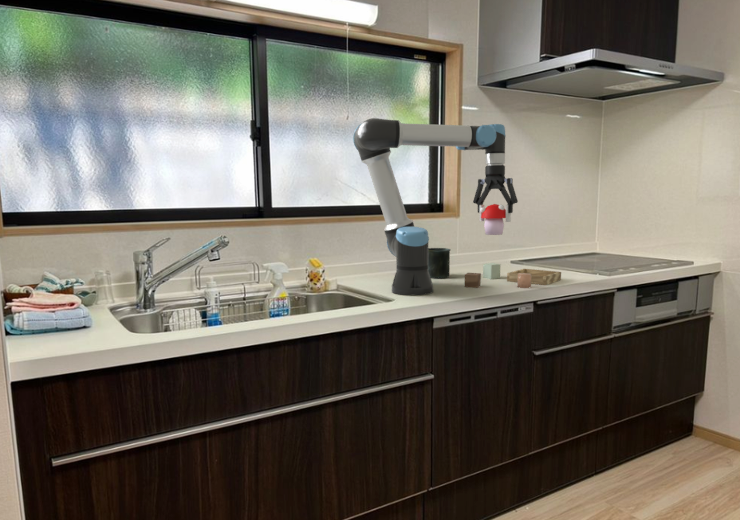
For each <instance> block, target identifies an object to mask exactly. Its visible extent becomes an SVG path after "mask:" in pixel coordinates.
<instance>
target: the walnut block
mask: <svg viewBox="0 0 740 520" xmlns="http://www.w3.org/2000/svg"><path fill="white" fill-rule="evenodd" d="M481 275H482V274H481V272H466V273H465V274H464V288H472V289H473V288H474V289H478V288H480V287H481V283H482V281H481V279H482V278H481V277H482V276H481Z"/></svg>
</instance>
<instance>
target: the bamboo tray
mask: <svg viewBox="0 0 740 520" xmlns="http://www.w3.org/2000/svg"><path fill="white" fill-rule="evenodd" d="M518 273H529V274H531V285H538V284H539V285H540V286H548V285H551V284H553V283H556V282H558V280H559V281H561V280H562V272H561V271H557V270H556V271H554V270H545V269H534V268H533V269H532V268H522V269H518V270H514V271H511V272H507V273H506V282H512V283H517V282H518ZM555 281H556V282H555ZM547 284H548V285H547ZM539 285H538V286H539Z"/></svg>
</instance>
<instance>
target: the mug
mask: <svg viewBox="0 0 740 520" xmlns="http://www.w3.org/2000/svg"><path fill="white" fill-rule="evenodd" d="M450 251H451V248H446V247H428V272H429V275H430V278H431V279H448V278H449V277H450V265H451V264H450V257H451V256H450V255H451V253H450Z"/></svg>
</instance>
